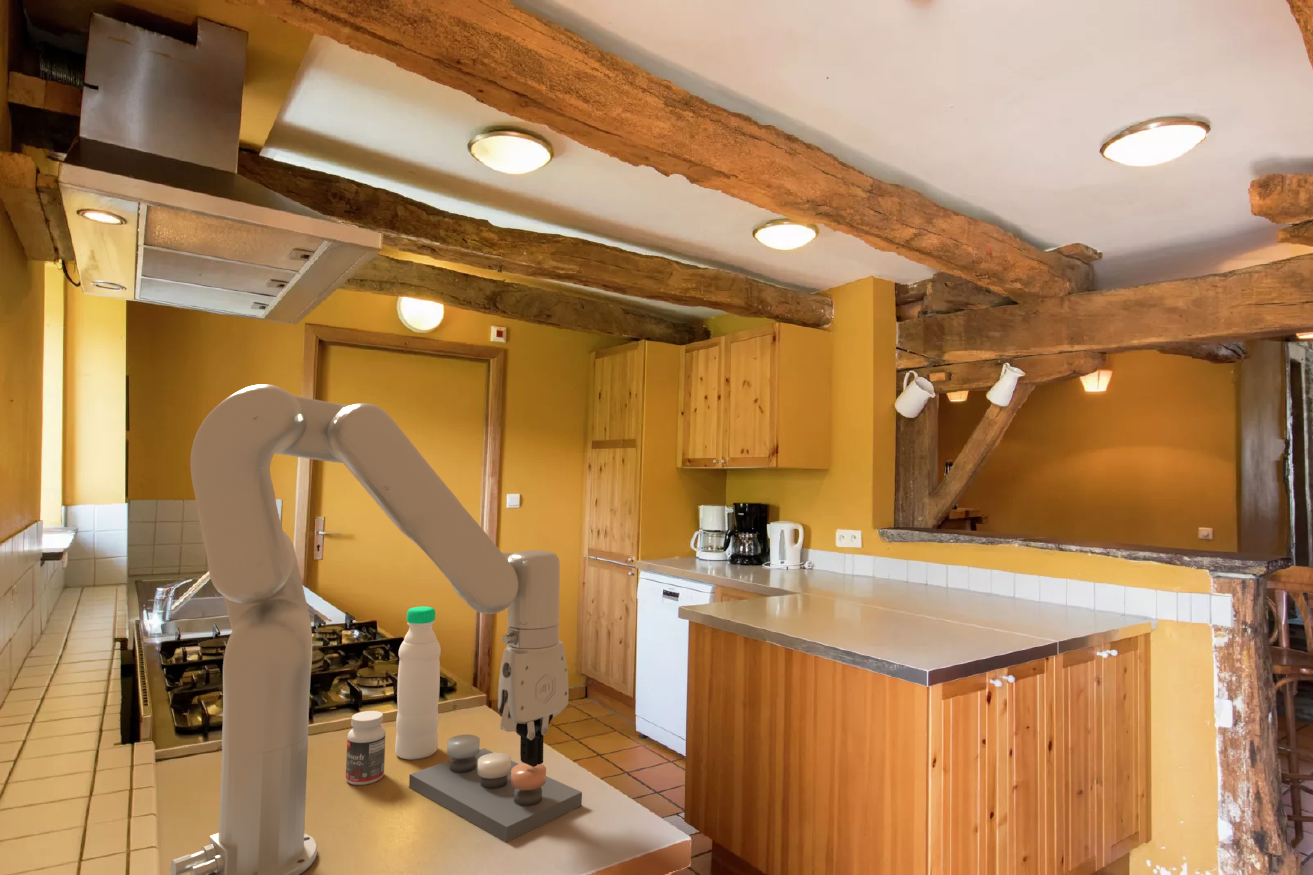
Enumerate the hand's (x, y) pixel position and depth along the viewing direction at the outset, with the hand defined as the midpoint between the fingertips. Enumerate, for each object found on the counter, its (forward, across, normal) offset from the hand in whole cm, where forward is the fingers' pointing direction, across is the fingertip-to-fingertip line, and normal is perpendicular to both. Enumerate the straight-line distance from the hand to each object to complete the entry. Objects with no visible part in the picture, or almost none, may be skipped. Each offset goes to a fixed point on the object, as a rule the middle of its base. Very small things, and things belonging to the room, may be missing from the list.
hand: (531, 762), depth 105 cm
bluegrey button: (+3, 0, +16) cm, 16 cm away
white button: (+4, 0, +8) cm, 9 cm away
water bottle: (+7, 0, +31) cm, 32 cm away
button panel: (+7, 0, +8) cm, 11 cm away
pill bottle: (+7, -10, +28) cm, 31 cm away
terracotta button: (+3, 0, 0) cm, 3 cm away
